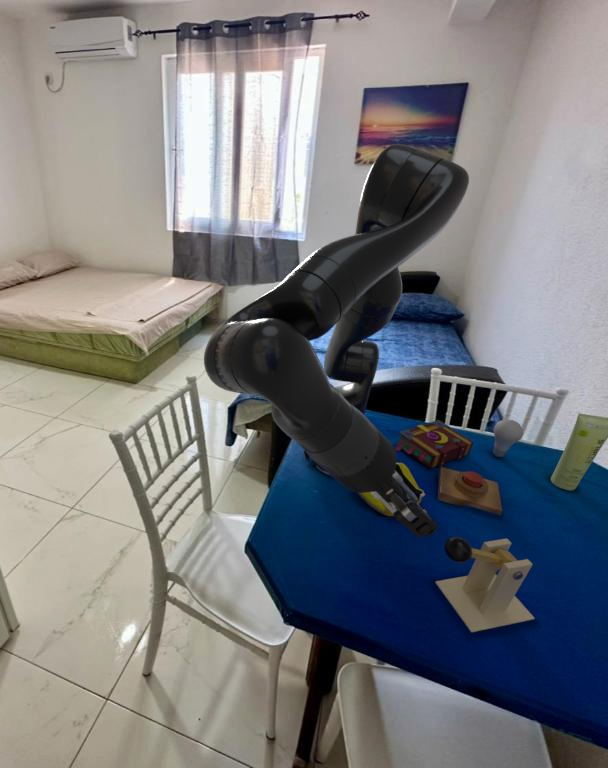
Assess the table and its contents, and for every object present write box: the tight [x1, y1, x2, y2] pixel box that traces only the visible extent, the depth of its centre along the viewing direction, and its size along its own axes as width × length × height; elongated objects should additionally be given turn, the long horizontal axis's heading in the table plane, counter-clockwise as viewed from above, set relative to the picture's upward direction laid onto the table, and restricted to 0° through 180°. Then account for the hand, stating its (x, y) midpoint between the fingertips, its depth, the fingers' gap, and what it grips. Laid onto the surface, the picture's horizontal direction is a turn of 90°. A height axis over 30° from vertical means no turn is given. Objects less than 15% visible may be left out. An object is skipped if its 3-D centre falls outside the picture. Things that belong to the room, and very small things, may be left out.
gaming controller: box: [357, 462, 426, 517], centre depth 90 cm, size 15×6×10 cm
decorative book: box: [394, 419, 474, 469], centre depth 106 cm, size 11×16×5 cm
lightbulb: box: [492, 418, 524, 458], centre depth 104 cm, size 6×6×11 cm
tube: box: [550, 413, 608, 491], centre depth 93 cm, size 6×5×20 cm
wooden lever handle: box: [443, 536, 519, 571], centre depth 62 cm, size 14×4×4 cm, turn 102°
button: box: [463, 471, 484, 488], centre depth 91 cm, size 4×4×2 cm
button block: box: [437, 466, 503, 516], centre depth 92 cm, size 12×10×4 cm
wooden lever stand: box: [434, 538, 535, 633], centre depth 67 cm, size 12×9×13 cm
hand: (412, 507), depth 54 cm, fingers open, 7 cm apart
